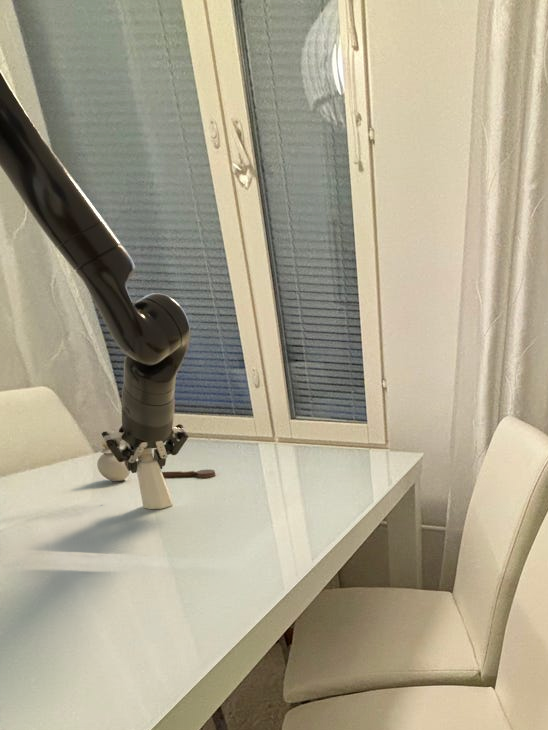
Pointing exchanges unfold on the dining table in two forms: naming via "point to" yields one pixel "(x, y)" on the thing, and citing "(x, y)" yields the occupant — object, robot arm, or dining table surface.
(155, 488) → the salt shaker
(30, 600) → the dining table surface
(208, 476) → the walnut spoon
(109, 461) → the ornament
